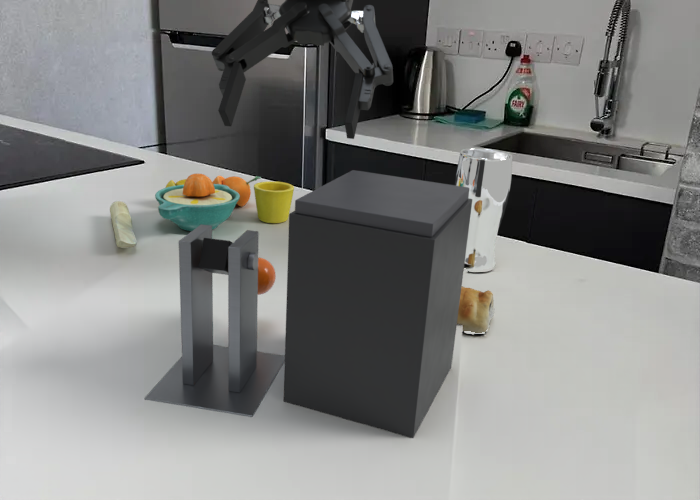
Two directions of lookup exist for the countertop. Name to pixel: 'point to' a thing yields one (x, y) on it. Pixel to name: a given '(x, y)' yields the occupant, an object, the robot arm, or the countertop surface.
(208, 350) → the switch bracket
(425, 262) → the lidded storage box
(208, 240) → the lever
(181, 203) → the toy juicer set
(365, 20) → the robot arm
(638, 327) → the countertop surface
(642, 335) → the countertop surface
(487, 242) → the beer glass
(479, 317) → the pastry
